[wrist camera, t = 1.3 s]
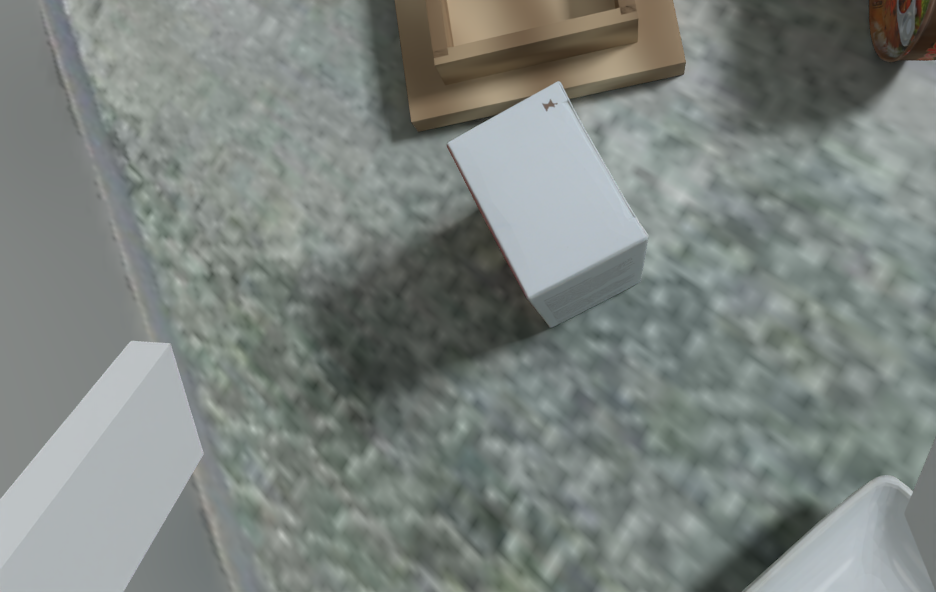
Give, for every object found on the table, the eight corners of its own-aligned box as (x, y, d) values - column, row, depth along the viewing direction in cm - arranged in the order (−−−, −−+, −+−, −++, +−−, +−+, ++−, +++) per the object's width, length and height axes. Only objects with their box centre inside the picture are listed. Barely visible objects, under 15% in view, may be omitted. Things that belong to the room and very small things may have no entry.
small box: (483, 205, 44) (440, 138, 33) (573, 156, 43) (558, 73, 33) (549, 332, 42) (525, 302, 32) (644, 283, 41) (650, 237, 31)
